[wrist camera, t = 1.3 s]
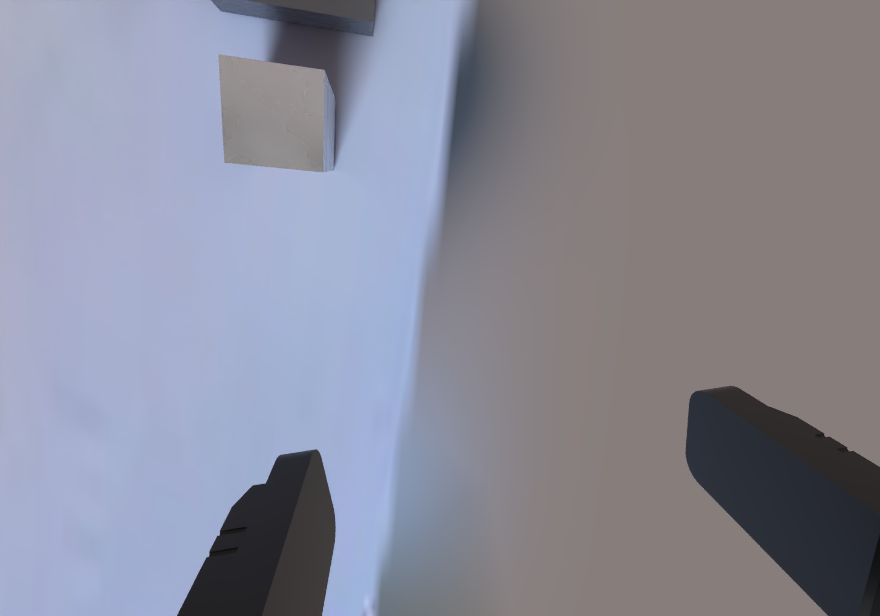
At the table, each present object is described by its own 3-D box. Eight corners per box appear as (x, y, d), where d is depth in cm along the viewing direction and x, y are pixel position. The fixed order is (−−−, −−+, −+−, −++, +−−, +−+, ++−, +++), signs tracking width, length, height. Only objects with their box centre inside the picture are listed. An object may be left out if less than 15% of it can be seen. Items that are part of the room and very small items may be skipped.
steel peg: (264, 163, 25) (224, 162, 18) (262, 89, 24) (218, 54, 16) (333, 170, 26) (323, 172, 18) (335, 99, 25) (324, 69, 17)
